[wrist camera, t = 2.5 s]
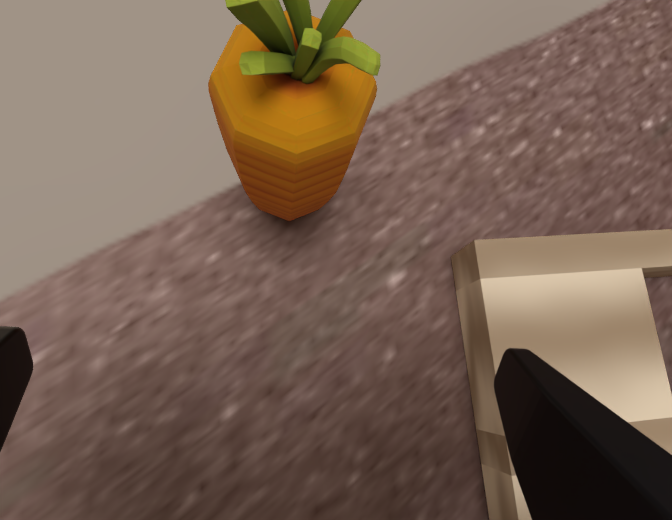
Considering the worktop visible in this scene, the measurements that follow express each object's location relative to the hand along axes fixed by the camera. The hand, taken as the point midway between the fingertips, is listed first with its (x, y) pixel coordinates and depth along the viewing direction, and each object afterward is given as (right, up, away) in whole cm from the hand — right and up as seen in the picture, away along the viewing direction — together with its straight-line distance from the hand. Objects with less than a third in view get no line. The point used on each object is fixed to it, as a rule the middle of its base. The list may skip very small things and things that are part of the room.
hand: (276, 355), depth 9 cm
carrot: (-1, +4, +15) cm, 16 cm away
